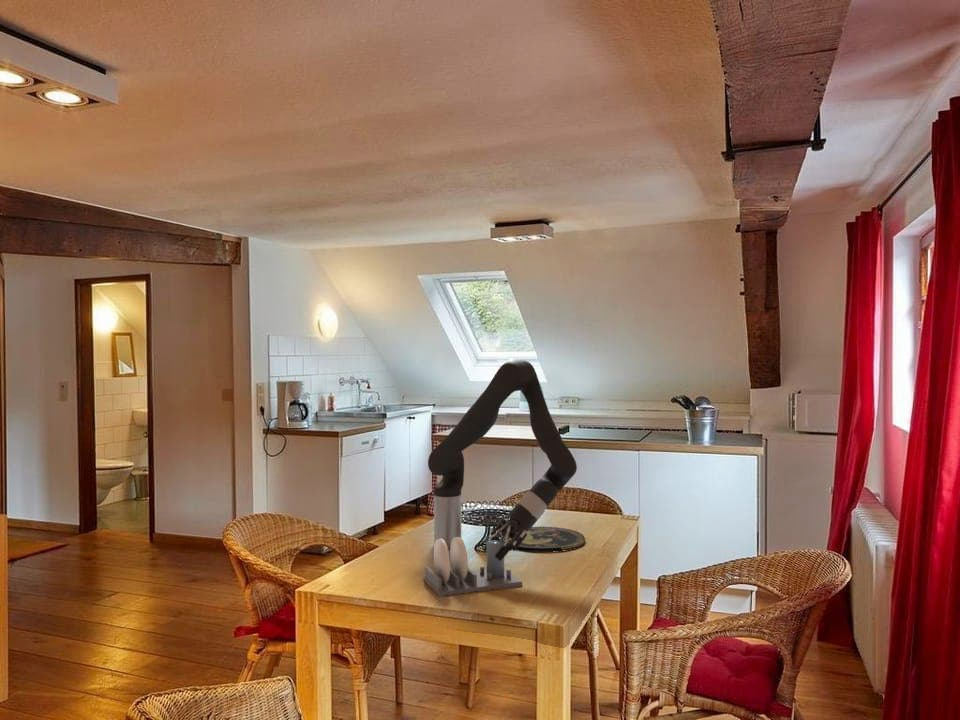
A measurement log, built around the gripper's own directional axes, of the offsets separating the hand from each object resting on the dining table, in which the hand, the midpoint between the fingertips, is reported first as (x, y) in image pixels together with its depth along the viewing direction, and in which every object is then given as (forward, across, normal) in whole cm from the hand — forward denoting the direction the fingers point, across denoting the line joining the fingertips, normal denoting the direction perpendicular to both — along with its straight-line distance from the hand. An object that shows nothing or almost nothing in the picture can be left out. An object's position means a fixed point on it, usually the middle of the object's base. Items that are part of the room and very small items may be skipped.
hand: (491, 554), depth 204 cm
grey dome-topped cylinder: (+4, 0, +5) cm, 6 cm away
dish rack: (+9, 0, +1) cm, 9 cm away
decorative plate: (-17, -34, +28) cm, 48 cm away
